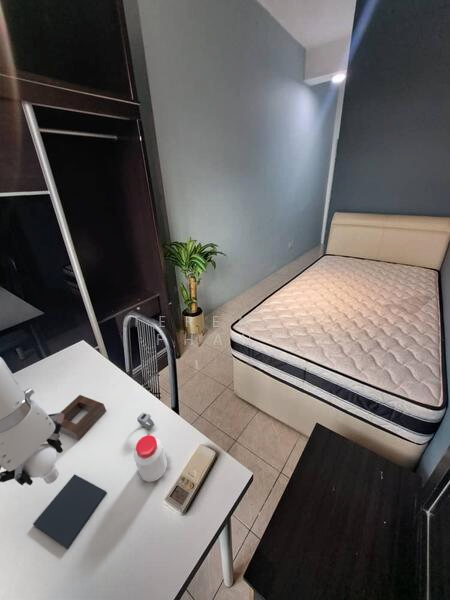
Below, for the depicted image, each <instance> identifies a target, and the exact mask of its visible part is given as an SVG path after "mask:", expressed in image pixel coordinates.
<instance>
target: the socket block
mask: <svg viewBox="0 0 450 600" xmlns="http://www.w3.org/2000/svg"><path fill="white" fill-rule="evenodd" d="M82 410H84V411H86V413H85V415H84V416H82V418H81V419H79V421H78V422H76V423H75V422H73V421H72V420H73V419H74V418H75V417H76V416H77V415H78V414H79V413H81V411H82ZM106 412H107V409H106V406H105V404H104V403H103V402H100V401H97V400H95V399H92V398H90V397H87V396H85V395H82V394H79V395H78V396H76V397H75V399H73V400H72V401H71V402H70V403H69V404H67V406H65V408H64V409H62V410H61V411H60V412H59V413H62V414H64V418H63V421H62V423H61V425H62V426H61V429H60V432H59V433H62V434H64V435H66V436H69V437H70V438H72V439H75V440H78V441H81V440H82V438H83V437H84V436H85V435H86V434H87V433H88V432H89V430H91V429H92V427H93V426H94V425H95V424H96V423H97V422H98V421H99V420H100V419H101V418H102V416H103V415H105V413H106ZM53 423H54V421H53Z"/></svg>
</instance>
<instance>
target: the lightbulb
mask: <svg viewBox="0 0 450 600" xmlns="http://www.w3.org/2000/svg"><path fill="white" fill-rule="evenodd" d="M57 460H58V452H57V451H56V449H55V447H54V446H52V445H50V444H48V443H43V444H42V445H41V446H40V447H39V448H38V449H37V450H36V451H35V452H34V453H33V454H31V455H30V456H29V457H28V458H27V459H26V460H25V461H24V462H23V463H22V471H24V472H26V473H27V474H28V476H29V477H30V478H31V479H36V478H40V479H43V481H44V482H45V483H46V484H47V485H48V484H49V485H50V484H52V483H54V482H55V481H56V480H57V479H58V478H59V475H60V474H59V471H58V469H57V468H56V463H57Z"/></svg>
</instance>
